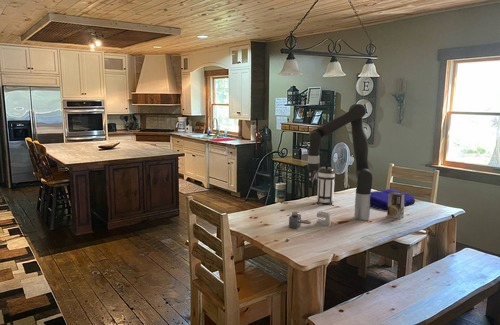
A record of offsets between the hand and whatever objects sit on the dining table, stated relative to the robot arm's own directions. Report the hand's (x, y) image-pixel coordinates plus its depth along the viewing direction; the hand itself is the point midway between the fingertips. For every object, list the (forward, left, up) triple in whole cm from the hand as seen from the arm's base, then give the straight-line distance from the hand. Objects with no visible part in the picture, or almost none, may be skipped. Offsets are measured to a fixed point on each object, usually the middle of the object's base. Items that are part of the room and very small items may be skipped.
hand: (312, 186), depth 245 cm
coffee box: (-50, -28, -21) cm, 61 cm away
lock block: (-10, +10, -21) cm, 26 cm away
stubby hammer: (+1, +22, -21) cm, 31 cm away
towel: (-42, -61, -22) cm, 77 cm away
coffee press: (0, -39, -21) cm, 44 cm away
